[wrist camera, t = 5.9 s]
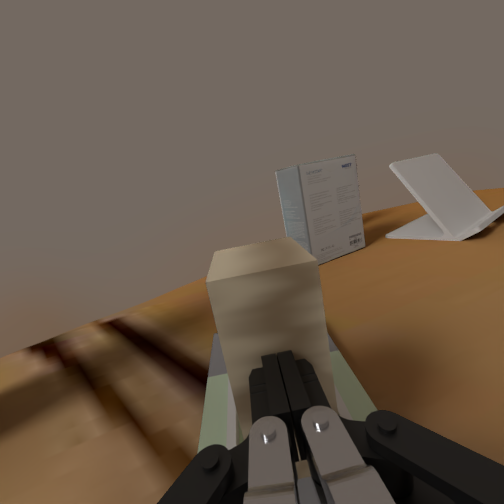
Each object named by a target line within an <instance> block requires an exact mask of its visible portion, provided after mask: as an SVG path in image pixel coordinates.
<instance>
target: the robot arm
mask: <svg viewBox="0 0 504 504" xmlns="http://www.w3.org/2000/svg"><path fill="white" fill-rule="evenodd" d="M277 358H278V361H277ZM261 359H262V365H263V367H261V368H256V369H252V371H251V373H250V376H249V390H250V403H251V416H252V427H251V429H250V432H249V435H248V436H247V438H246V439H245V440H244V441H243V442H242V443H240V444H239V445H237V446H235V447H233V448H232V449H230V450H228V449H227V448H226V447H225V446H223V445H220V444H213V445H209V446H207V447H205V448H203V449H202V450H201V451H200V452H199V453H198V454H197V455H196V456H195V457H194V458H193V460H192V461H191V462H190V463H189V465H188V466H187V467H186V468H185V470H184V471H183V472H182V473H181V475H180V476H179V477H178V478H177V479H176V481H175V482H174V483H173V484H172V486H171V487H170V488H169V489H168V491H167V492H166V493H165V494H164V496H163V497H162V498H161V499H160V501H159V502H158V503H157V504H300V497H299V490H298V484H297V482H298V475H297V469H296V464H295V462H299V456H298V451H297V446H298V450H299V454H300V458H301V461H303V460H307V462H308V466H309V470H310V475H311V481H312V485H313V487H314V490H315V493H316V496H317V499H318V502H319V504H504V466H503V465H501V464H499V463H497V462H495V461H493V460H491V459H489V458H487V457H485V456H483V455H480V454H478V453H476V452H474V451H472V450H470V449H468V448H466V447H464V446H462V445H460V444H458V443H456V442H454V441H451V440H449V439H447V438H445V437H443V436H441V435H439V434H437V433H435V432H433V431H431V430H429V429H427V428H425V427H422V426H420V425H418V424H416V423H414V422H412V421H410V420H408V419H406V418H404V417H402V416H400V415H398V414H396V413H393V412H390V411H386V410H377V411H374V412H371V413H370V414H369V415H368V416H367V417H366V420H365V421H355V420H349V419H345V418H343V417H341V416H339V415H338V414H337V413H336V412H335V411H334V410H332V408H331V406H330V404H329V402H328V400H327V398H326V395H325V393H324V391H323V389H322V386H321V384H320V382H319V380H318V377H317V375H316V373H315V370H314V368H313V366H312V364H311V363H309V362H308V361H307V360H306V359H305V358H304V359H299V360H295V359H294V356H293V353H292V351H291V350H288V351H283V352H278V353H277V357H276V353H274V354H269V355H264V356H261ZM278 363H279V365H278ZM294 434H295V435H294ZM295 438H296V440H295ZM296 442H297V445H296Z"/></svg>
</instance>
